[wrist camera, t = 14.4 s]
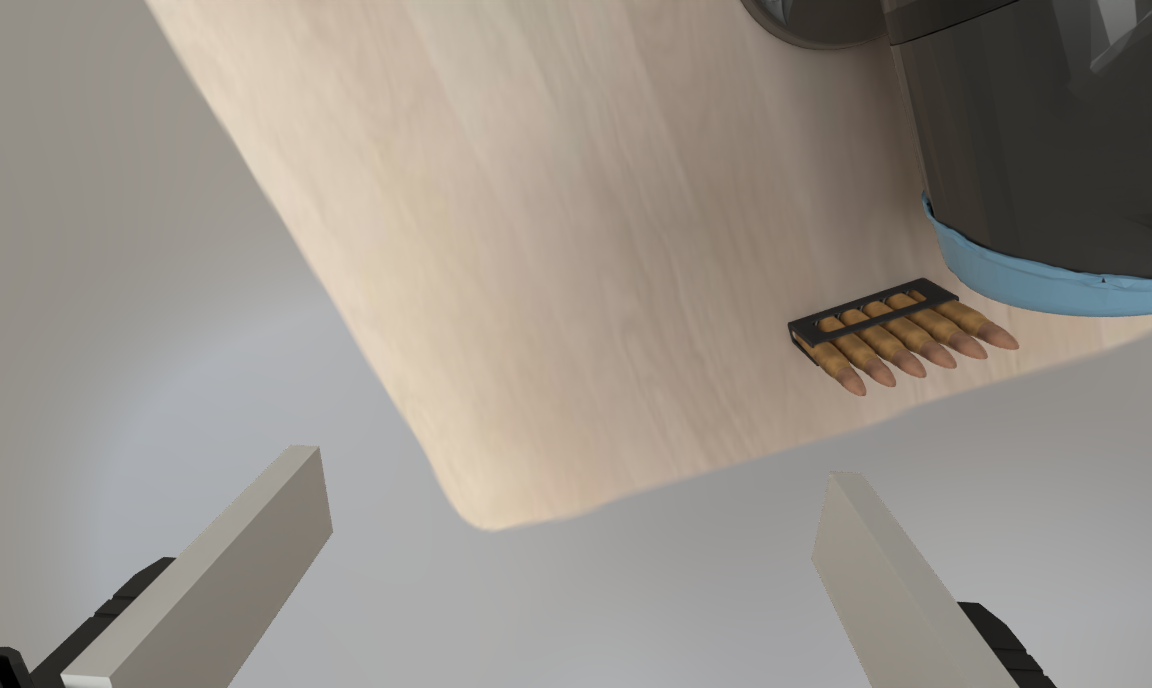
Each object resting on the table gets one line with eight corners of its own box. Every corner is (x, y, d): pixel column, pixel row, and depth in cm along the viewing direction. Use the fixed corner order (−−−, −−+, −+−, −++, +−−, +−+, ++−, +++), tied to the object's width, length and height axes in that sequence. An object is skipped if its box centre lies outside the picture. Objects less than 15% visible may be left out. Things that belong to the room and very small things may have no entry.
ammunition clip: (924, 276, 44) (1033, 328, 32) (928, 298, 44) (1037, 356, 33) (787, 323, 46) (845, 386, 34) (792, 343, 46) (851, 412, 35)
